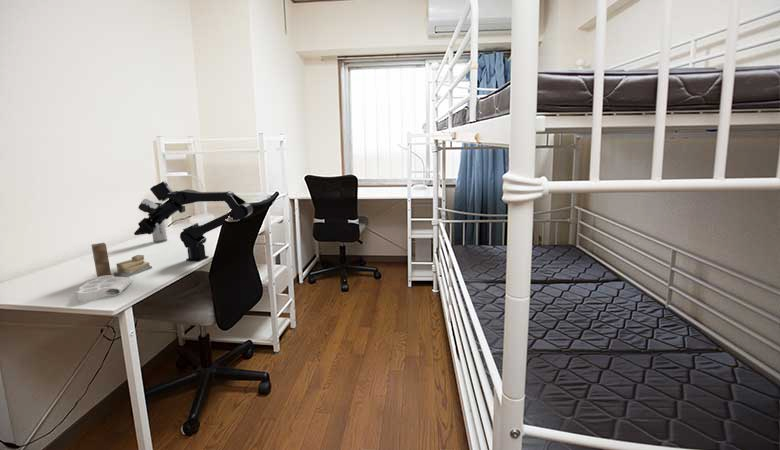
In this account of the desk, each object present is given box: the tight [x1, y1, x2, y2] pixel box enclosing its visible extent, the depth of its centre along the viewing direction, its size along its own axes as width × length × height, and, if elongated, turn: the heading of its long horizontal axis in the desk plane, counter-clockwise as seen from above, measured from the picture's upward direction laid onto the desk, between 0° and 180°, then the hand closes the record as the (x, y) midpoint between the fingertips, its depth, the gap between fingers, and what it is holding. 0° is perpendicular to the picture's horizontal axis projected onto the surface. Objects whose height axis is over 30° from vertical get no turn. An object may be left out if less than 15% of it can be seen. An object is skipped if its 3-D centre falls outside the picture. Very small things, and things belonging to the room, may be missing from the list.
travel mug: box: [151, 202, 168, 244], centre depth 208 cm, size 6×7×20 cm
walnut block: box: [91, 242, 112, 278], centre depth 155 cm, size 4×4×13 cm
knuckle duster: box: [74, 274, 133, 303], centre depth 142 cm, size 3×18×15 cm
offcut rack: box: [113, 254, 153, 277], centre depth 162 cm, size 7×11×6 cm, turn 161°
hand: (139, 229), depth 176 cm, fingers open, 9 cm apart
